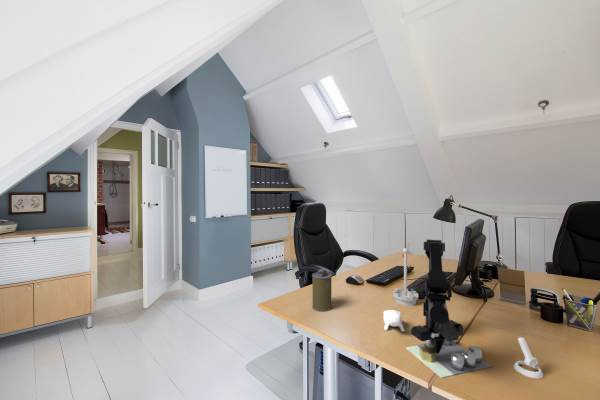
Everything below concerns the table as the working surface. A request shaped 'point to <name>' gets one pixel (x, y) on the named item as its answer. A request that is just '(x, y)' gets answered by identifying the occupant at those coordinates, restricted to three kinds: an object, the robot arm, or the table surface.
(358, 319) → the table surface
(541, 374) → the white vr controller
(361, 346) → the table surface
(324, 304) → the canister
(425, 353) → the faceted tan block
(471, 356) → the spacers
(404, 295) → the flag stand
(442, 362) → the mat
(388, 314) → the white footed lump
